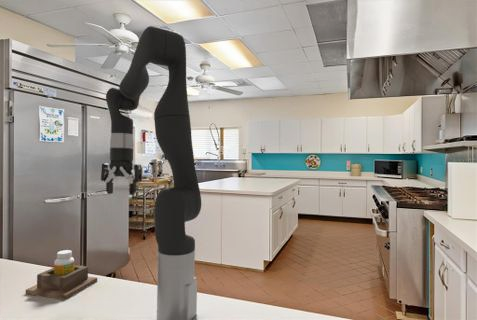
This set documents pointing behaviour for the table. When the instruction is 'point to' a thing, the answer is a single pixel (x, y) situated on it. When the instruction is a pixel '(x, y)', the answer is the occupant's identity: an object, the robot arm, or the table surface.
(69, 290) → the box
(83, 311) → the table surface
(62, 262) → the supplement bottle
